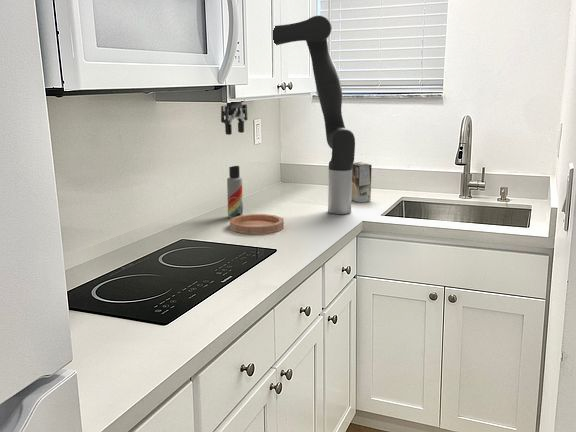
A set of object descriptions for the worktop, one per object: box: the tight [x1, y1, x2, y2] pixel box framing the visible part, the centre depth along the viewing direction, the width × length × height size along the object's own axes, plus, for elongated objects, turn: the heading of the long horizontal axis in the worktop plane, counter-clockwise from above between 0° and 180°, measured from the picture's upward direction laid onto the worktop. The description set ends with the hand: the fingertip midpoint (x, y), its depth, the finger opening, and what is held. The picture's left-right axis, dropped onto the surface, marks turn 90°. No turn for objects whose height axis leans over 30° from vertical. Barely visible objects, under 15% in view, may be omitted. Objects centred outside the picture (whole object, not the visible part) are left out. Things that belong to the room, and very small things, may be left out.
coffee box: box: [351, 162, 373, 203], centre depth 250 cm, size 9×6×16 cm
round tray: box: [229, 213, 285, 235], centre depth 206 cm, size 19×19×3 cm
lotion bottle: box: [226, 165, 244, 219], centre depth 219 cm, size 6×6×20 cm
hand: (234, 133), depth 214 cm, fingers open, 8 cm apart
